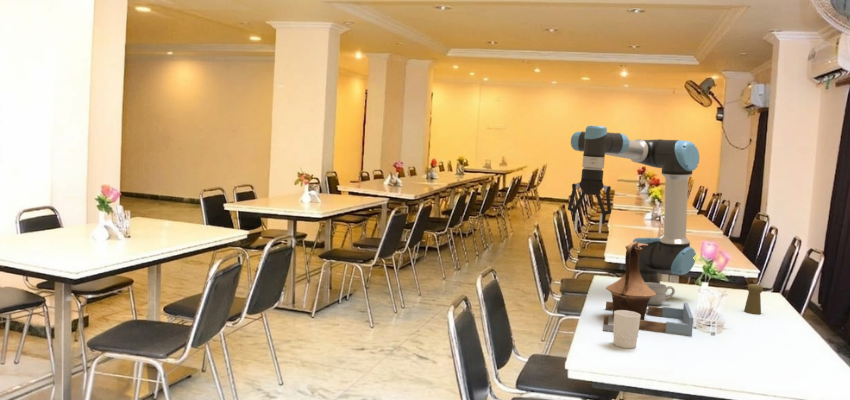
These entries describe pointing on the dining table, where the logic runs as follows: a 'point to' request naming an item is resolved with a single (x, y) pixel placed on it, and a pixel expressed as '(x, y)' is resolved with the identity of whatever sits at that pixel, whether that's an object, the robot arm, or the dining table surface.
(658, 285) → the teacup
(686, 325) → the pocket
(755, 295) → the cork
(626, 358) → the dining table surface
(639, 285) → the pitcher
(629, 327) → the beige tumbler
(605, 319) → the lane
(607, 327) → the mat
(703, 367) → the dining table surface
